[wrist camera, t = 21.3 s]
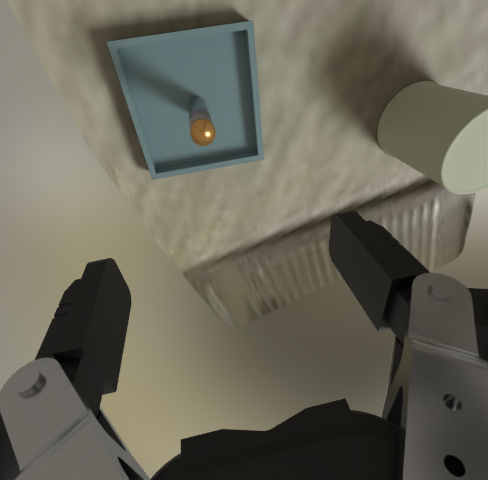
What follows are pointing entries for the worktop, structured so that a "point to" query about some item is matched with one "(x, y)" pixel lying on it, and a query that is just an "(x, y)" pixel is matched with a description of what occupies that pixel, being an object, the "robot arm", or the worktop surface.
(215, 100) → the tray
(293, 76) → the worktop surface
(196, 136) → the orange-topped grey cylinder
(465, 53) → the worktop surface
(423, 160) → the can
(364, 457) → the robot arm
